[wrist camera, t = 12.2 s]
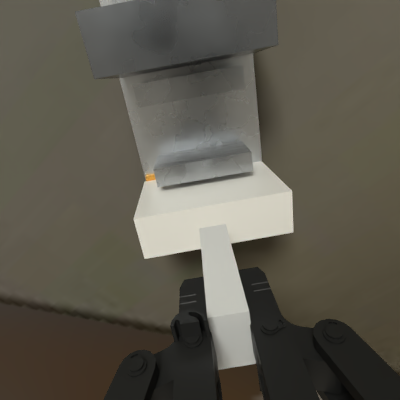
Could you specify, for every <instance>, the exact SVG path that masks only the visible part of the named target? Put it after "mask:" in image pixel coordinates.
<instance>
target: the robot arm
mask: <svg viewBox="0 0 400 400" xmlns="http://www.w3.org/2000/svg"><path fill="white" fill-rule="evenodd" d="M199 230H200V242H201V253H202V264H203V276H204V277H199V278H193V279H187V280H184V282H183V283H182V285H181V287H180V305H179V314H177V315H176V316H175V317H174V319H173V320H172V322H171V326H170V327H171V330H172V334H173V337H174V342H173V343H172V344H171V345H170V346H169V347H168V348H166V349H164V350H162V351H160V352H158V353H156V354H154V355H153V354H152V353H151V352H150V351H147V350H138V351H135V352H133V353H131V354H129V355H128V356H127V357H126V358H125V359H124V360H123V361H122V363H121V364H120V366H119V368H118V370H117V372H116V374H115V377H114V379H113V381H112V383H111V385H110V387H109V389H108V391H107V394H106V396H105V398H104V400H222V392H221V383H220V379H219V373H218V370H220V369H226V368H232V367H239V366H245V365H251V364H257V369H258V376H259V384H260V391H262V394H263V398H264V400H320V399H319V397H318V395H317V392H318V394H319V395H320V396H321V398H322V399H323V400H400V376H399V375H398V374H397V373H396V372H395V371H394V370H393V369H392V368H391V367H390V366H389V365H388V364H387V363H386V362H385V361H384V360H383V359H382V358H381V357H380V356H379V355H378V354H377V353H376V352H375V351H374V350H373V349H372V348H371V347H370V346H369V345H368V344H367V343H366V342H365V341H363V340H362V339H361V338H360V337H359V336H358V335H357V334H356V333H355V332H354V331H353V330H352V329H351V328H350V327H349V326H348V325H346V324H345V323H343V322H341V321H338V320H333V319H326V320H321V321H320V322H318V323H316V325H315V327H314V328H308V327H300V326H296V325H294V324H291V323H289V322H288V321H286V320H285V319H284V318H283V316H282V315H281V313H280V311H279V308H278V306H277V303H276V301H275V298H274V296H273V293H272V291H271V289H270V286H269V283H268V281H267V278H266V276H265V273H264V272H263V271H261V270H260V269H259V268H258V267H255V268H249V269H243V270H238V268H237V264H236V261H235V257H234V253H233V249H232V246H231V242H230V238H229V235H228V231H227V227H226V224H222V225H216V226H210V227H205V228H199ZM316 390H317V392H316Z"/></svg>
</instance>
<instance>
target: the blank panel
mask: <svg viewBox="0 0 400 400" xmlns="http://www.w3.org/2000/svg"><path fill="white" fill-rule="evenodd" d="M134 223H135V226H136V230H137V233H138V237H139V240H140V244H141V247H142V251H143V254H144V258H145V259H147V258H153V257H158V256H164V255H170V254H175V253H181V252H186V251H192V250H198V249H201V242H200V230H199V228H205V227H210V226H216V225H222V224H226V227H227V231H228V235H229V238H230V242H231V243H237V242H242V241H248V240H254V239H259V238H265V237H270V236H276V235H282V234H287V233H293V206H292V190H291V189H289V188H288V187H287V186H286V185H285V184H284V183H283V182H282V181H281V180H280V179H279V178H278V177H277V176H276V175H275V174H274V173H273V172H272V171H271V170H270V169H269V168H268V167H267V166H266V165H265V164H264V163H263V162H262V161H259V162H253V171H250V172H244V173H238V174H233V175H227V176H221V177H215V178H209V179H204V180H198V181H192V182H186V183H181V184H175V185H169V186H163V187H157V183H156V180H151V181H145V182H144V186H143V189H142V192H141V196H140V199H139V202H138V206H137V209H136V212H135V216H134Z"/></svg>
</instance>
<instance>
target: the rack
mask: <svg viewBox="0 0 400 400" xmlns="http://www.w3.org/2000/svg"><path fill="white" fill-rule="evenodd" d="M99 1H100V5H101V7H96V8H91V9H86V10H81V11H76V12H75V14H76V17H77V21H78V24H79V28H80V31H81V35H82V38H83V41H84V45H85V48H86V52H87V55H88V59H89V62H90V65H91V69H92V72H93V76H94V79H106V78H119V79H120V82H121V86H122V90H123V94H124V98H125V102H126V106H127V109H128V113H129V117H130V121H131V125H132V129H133V133H134V136H135V140H136V144H137V148H138V152H139V156H140V160H141V164H142V167H143V171H144V175H145V179H146V181H151V180H156V183H157V187H163V186H169V185H175V184H181V183H186V182H192V181H198V180H204V179H209V178H215V177H221V176H227V175H233V174H238V173H244V172H250V171H253V162H259V161H262V155H261V143H260V131H259V119H258V107H257V95H256V83H255V71H254V59H253V53H256V52H259V51H262V50H265V49H268V48H270V47H273V46H276V45H278V30H277V11H276V0H99Z"/></svg>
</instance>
